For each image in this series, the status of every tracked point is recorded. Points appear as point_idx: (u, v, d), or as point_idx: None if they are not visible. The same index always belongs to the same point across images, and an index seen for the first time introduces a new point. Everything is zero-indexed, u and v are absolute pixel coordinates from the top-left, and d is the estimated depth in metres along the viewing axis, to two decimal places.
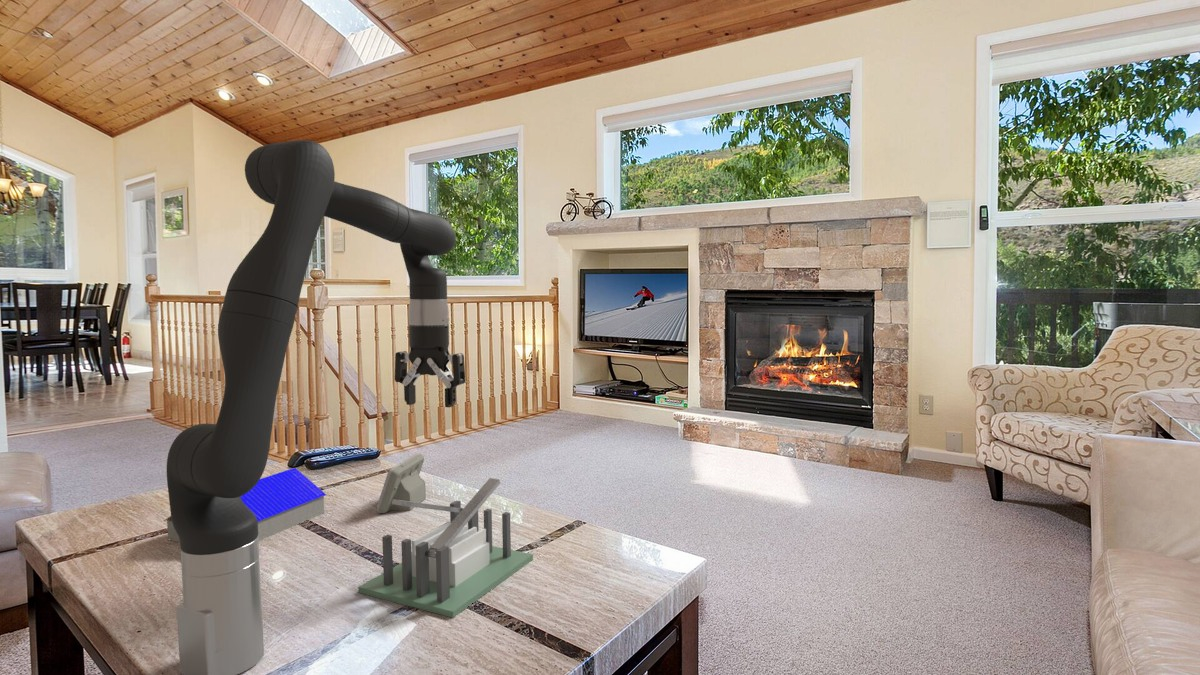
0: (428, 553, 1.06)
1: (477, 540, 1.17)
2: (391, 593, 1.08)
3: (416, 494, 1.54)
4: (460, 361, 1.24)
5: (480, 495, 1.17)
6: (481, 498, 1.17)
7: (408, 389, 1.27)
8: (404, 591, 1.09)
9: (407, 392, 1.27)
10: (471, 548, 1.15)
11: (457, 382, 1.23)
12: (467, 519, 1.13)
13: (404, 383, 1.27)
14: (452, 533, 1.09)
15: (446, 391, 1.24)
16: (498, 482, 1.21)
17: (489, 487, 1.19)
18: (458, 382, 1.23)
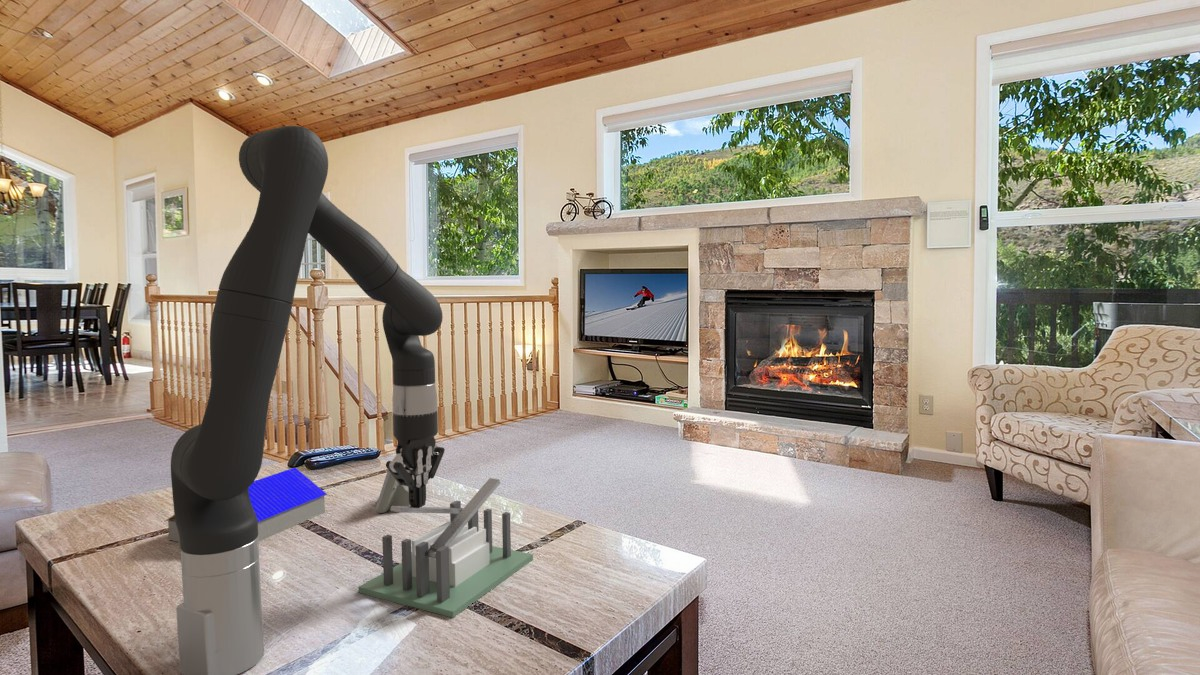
0: (428, 553, 1.06)
1: (477, 540, 1.17)
2: (391, 593, 1.08)
3: None
4: None
5: (480, 495, 1.17)
6: (481, 498, 1.17)
7: (421, 490, 1.13)
8: (404, 591, 1.09)
9: (420, 493, 1.13)
10: (471, 548, 1.15)
11: (433, 475, 1.16)
12: (467, 519, 1.13)
13: (419, 485, 1.13)
14: (452, 533, 1.09)
15: (423, 488, 1.14)
16: (498, 482, 1.21)
17: (489, 487, 1.19)
18: (433, 476, 1.16)
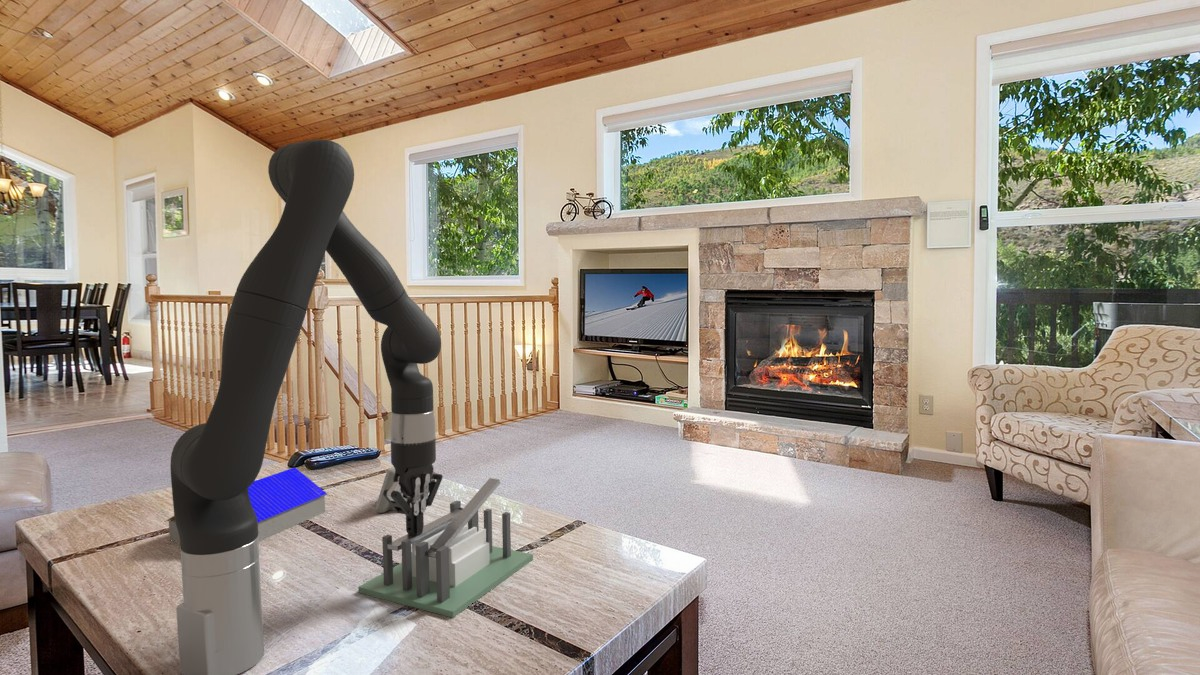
0: (428, 553, 1.06)
1: (477, 540, 1.17)
2: (391, 593, 1.08)
3: None
4: None
5: (480, 495, 1.17)
6: (481, 498, 1.17)
7: (418, 518, 1.13)
8: (404, 591, 1.09)
9: (418, 521, 1.13)
10: (471, 548, 1.15)
11: (431, 503, 1.16)
12: (467, 519, 1.13)
13: (416, 512, 1.12)
14: (452, 533, 1.09)
15: (421, 516, 1.14)
16: (498, 482, 1.21)
17: (489, 487, 1.19)
18: (431, 503, 1.16)
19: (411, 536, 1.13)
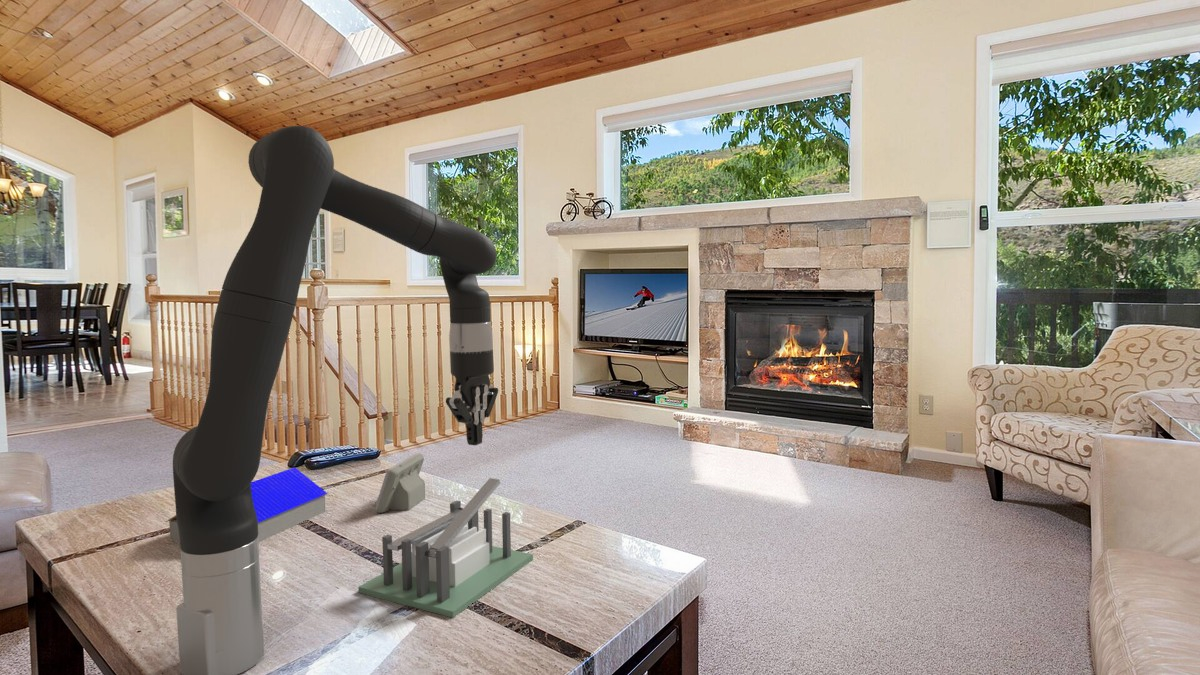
0: (428, 553, 1.06)
1: (477, 540, 1.17)
2: (391, 593, 1.08)
3: (415, 494, 1.54)
4: None
5: (480, 495, 1.17)
6: (481, 498, 1.17)
7: (478, 427, 1.15)
8: (404, 591, 1.09)
9: (478, 431, 1.15)
10: (471, 548, 1.15)
11: (489, 414, 1.18)
12: (467, 519, 1.13)
13: (476, 422, 1.14)
14: (452, 533, 1.09)
15: (480, 426, 1.16)
16: (498, 482, 1.21)
17: (489, 487, 1.19)
18: (489, 415, 1.18)
19: (411, 536, 1.13)
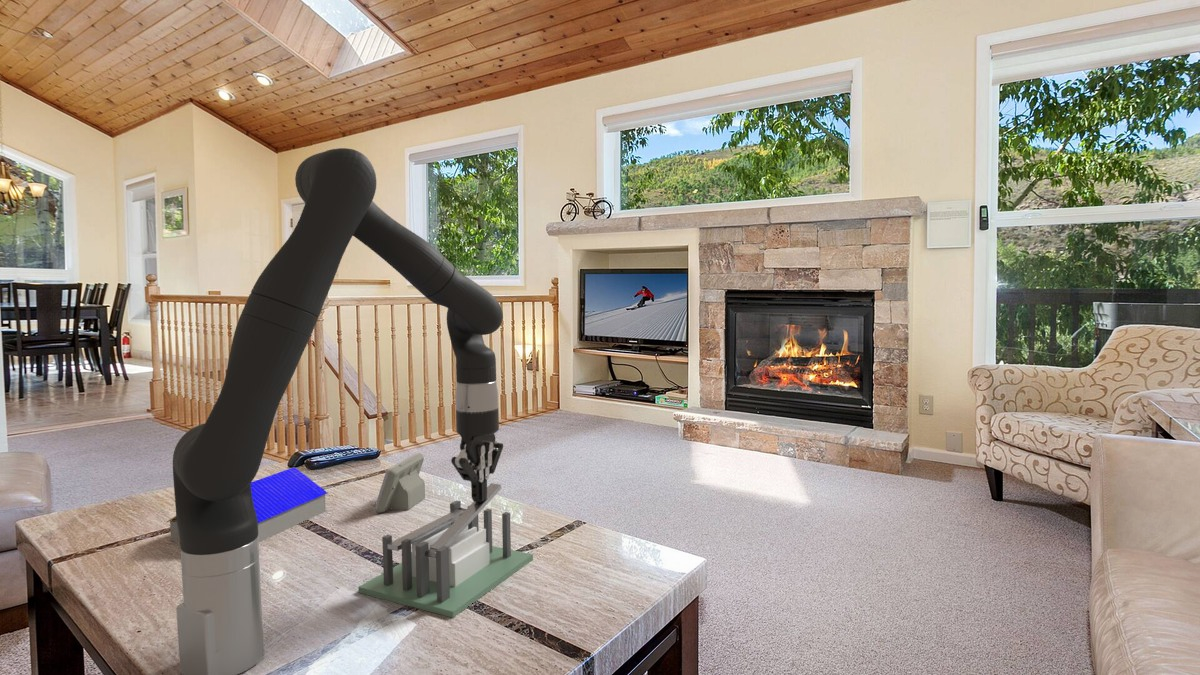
0: (429, 553, 1.06)
1: (477, 540, 1.17)
2: (391, 593, 1.08)
3: (415, 494, 1.54)
4: None
5: None
6: (482, 502, 1.17)
7: (483, 485, 1.16)
8: (404, 591, 1.09)
9: (482, 488, 1.16)
10: (471, 548, 1.15)
11: (493, 470, 1.19)
12: (468, 521, 1.13)
13: (481, 479, 1.16)
14: (452, 534, 1.09)
15: (485, 483, 1.17)
16: (499, 487, 1.21)
17: (490, 491, 1.20)
18: (493, 471, 1.19)
19: (411, 536, 1.13)
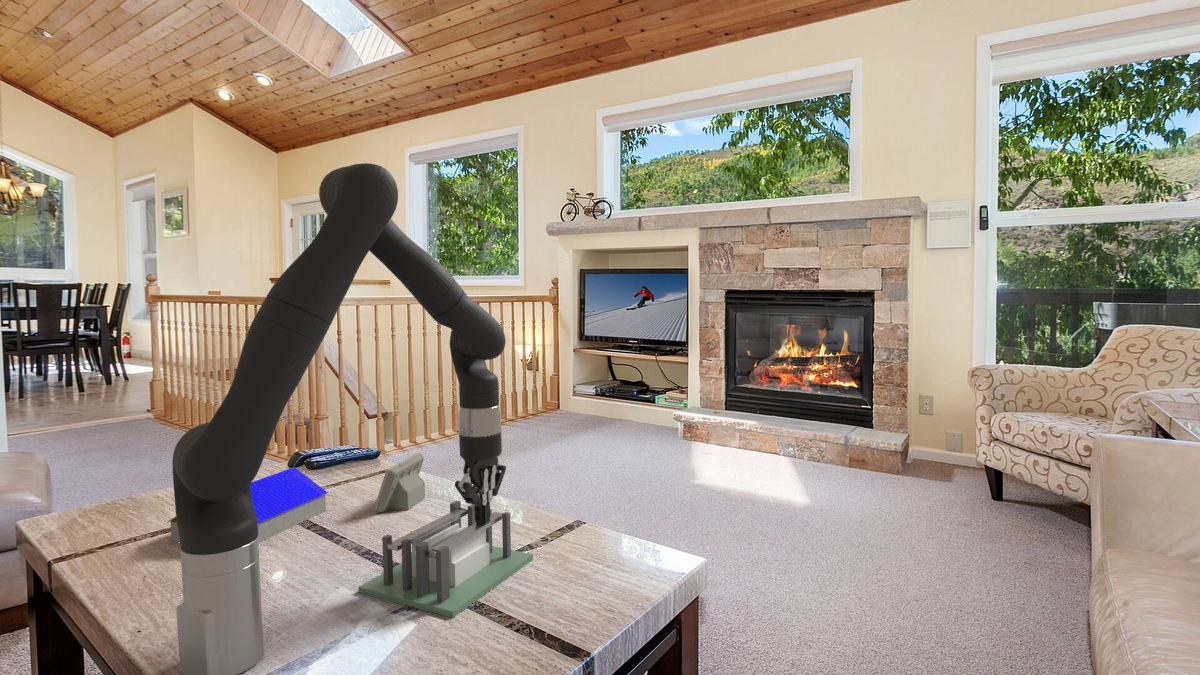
0: (429, 552, 1.06)
1: (477, 540, 1.17)
2: (391, 593, 1.08)
3: (414, 494, 1.54)
4: None
5: None
6: None
7: (486, 507, 1.18)
8: (404, 591, 1.09)
9: (486, 511, 1.17)
10: (471, 548, 1.15)
11: (497, 493, 1.20)
12: (470, 535, 1.13)
13: (484, 502, 1.17)
14: (454, 542, 1.10)
15: (488, 506, 1.18)
16: None
17: (494, 517, 1.21)
18: (496, 493, 1.20)
19: (411, 536, 1.13)
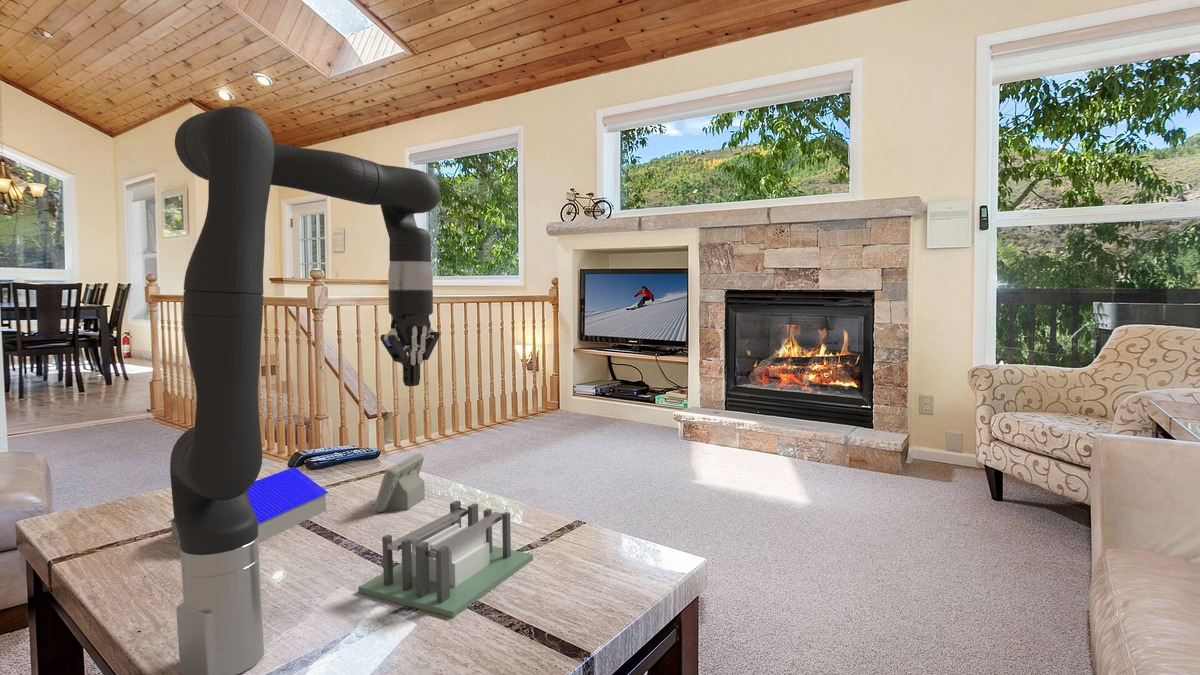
0: (429, 552, 1.06)
1: (477, 540, 1.17)
2: (391, 593, 1.08)
3: (414, 494, 1.54)
4: None
5: (484, 521, 1.19)
6: (485, 523, 1.18)
7: (415, 368, 1.14)
8: (404, 591, 1.09)
9: (414, 372, 1.14)
10: (471, 548, 1.15)
11: (428, 357, 1.17)
12: (470, 535, 1.13)
13: (413, 362, 1.14)
14: (454, 542, 1.10)
15: (417, 368, 1.15)
16: None
17: (494, 517, 1.21)
18: (428, 358, 1.17)
19: (411, 536, 1.13)
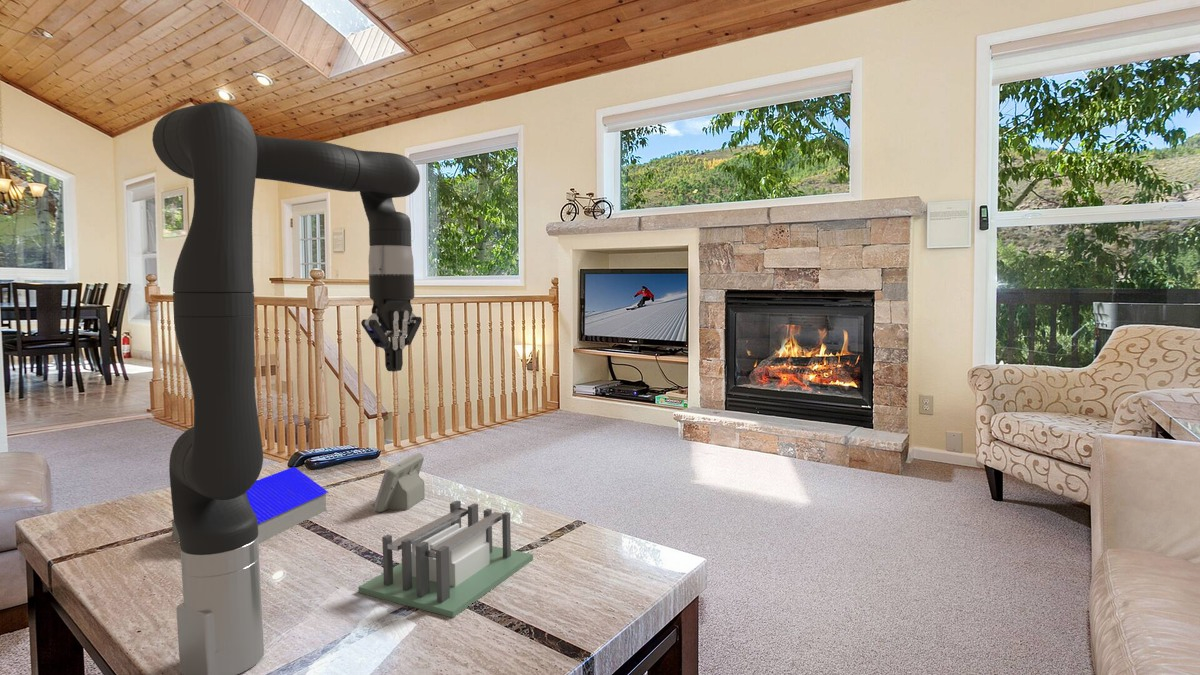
0: (429, 552, 1.06)
1: (477, 540, 1.17)
2: (391, 593, 1.08)
3: (414, 494, 1.54)
4: None
5: (484, 521, 1.19)
6: (485, 523, 1.18)
7: (397, 353, 1.14)
8: (404, 591, 1.09)
9: (397, 357, 1.14)
10: (471, 548, 1.15)
11: (410, 342, 1.17)
12: (470, 535, 1.13)
13: (395, 347, 1.13)
14: (454, 542, 1.10)
15: (400, 353, 1.15)
16: None
17: (494, 517, 1.21)
18: (410, 343, 1.17)
19: (411, 536, 1.13)
